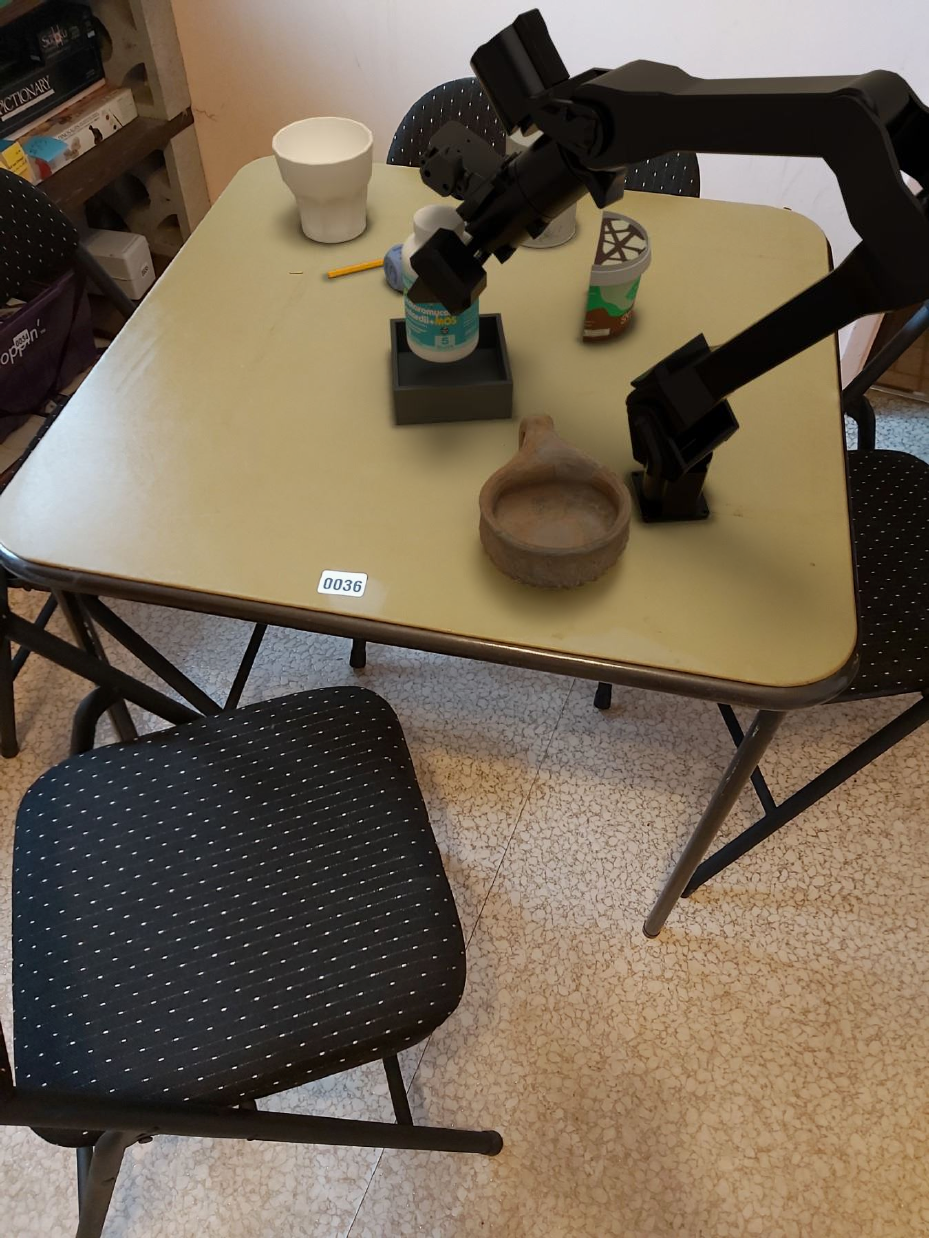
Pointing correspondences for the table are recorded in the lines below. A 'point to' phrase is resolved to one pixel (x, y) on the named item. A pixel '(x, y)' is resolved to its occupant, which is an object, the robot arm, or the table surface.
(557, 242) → the marbled stone cylinder
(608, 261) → the food container
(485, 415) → the dark gray square tray
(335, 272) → the pencil
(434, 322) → the pill bottle
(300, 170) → the cup
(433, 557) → the table surface
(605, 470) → the bowl
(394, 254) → the decorative dice
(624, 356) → the table surface
